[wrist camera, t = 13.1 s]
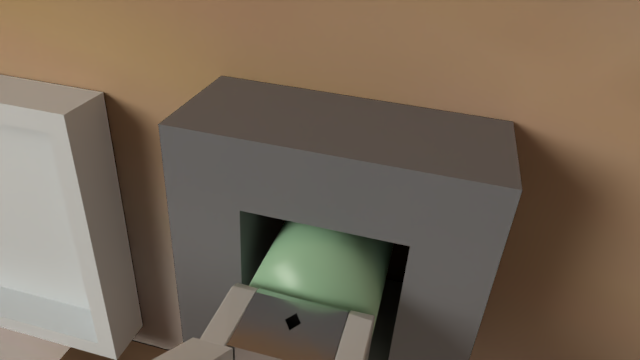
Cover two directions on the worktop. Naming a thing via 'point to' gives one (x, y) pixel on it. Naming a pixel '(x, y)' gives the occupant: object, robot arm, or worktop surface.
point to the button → (326, 267)
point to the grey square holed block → (342, 201)
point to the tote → (63, 221)
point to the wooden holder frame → (134, 356)
